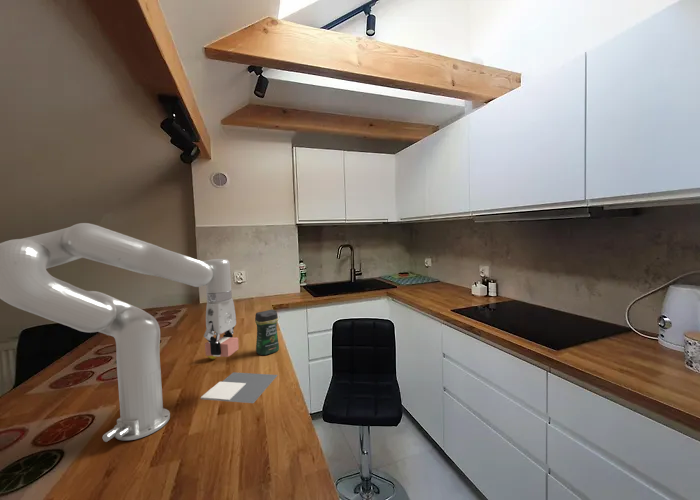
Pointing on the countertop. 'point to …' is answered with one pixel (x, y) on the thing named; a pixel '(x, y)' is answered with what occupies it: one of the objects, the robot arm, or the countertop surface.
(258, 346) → the coffee jar
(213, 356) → the lemon
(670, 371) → the countertop surface
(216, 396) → the pad
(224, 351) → the card box
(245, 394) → the mat
